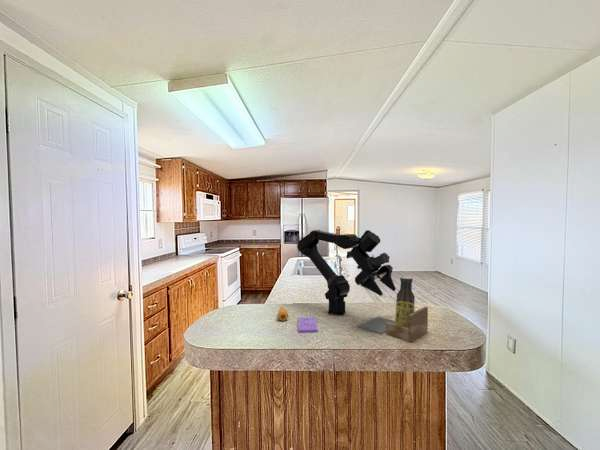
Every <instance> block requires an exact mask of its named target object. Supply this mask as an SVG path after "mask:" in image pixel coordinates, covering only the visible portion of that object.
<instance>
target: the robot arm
mask: <svg viewBox="0 0 600 450" xmlns="http://www.w3.org/2000/svg"><path fill="white" fill-rule="evenodd" d="M320 241H321V242H327V243H331V244H335V245H336V246H337V247H339V248H341V249H343V250H348V249H349V251H346V257H345V258H346V259H351V258H352V259H353V261H354V262H355V263H356V264H357V266H356V268H357V269H358V270H361V271H360V272H359V273H358V274H357V275H356V276H355V278H354V282H355V284H356V285H357V286H360V287H363V288H365V289H367V290H369V291H371V292H373V293H375V294H377V295H378V296H380V297H381V296H383V295H384V294H383V291H382V289H381V287H379V285H378V284H377V282H376V280H375V279H376V278H375V277H377V279H379V281H380V282H381V283H382V284H383V285H385V286H386V287H387V288H389V289H390V290H391V291H392V292H395V291H396V286H395V283H394V281H393V278H392V273H393V269H394V268H393V267H392V265H391V264H389V263H390V257H391V256H390V255H388V254H387V253H386V252H382V253H380V254H379V255H378V256H376V257H374V256H370V255H369V254H368V253H371V252H373V250H374V249H376V247H377V246H378V245H379V244H380V243H381V239H380V236H379V235H377V234H376V233H375V232H372V231H371V229H369V230H368V229H366V230H365V231H364V232H363V234H362V235H361V236H360V237H358V236H357V235H356V234H355V233H351V234H348V233H346V234H339V233H333V232H328V231H325V230H324V231H323V230H320V229H317V230H316V229H315V230H314V229H313V230H311V231H310V232H309V233H308V234H307V235H305V236H303V237H302V238H301V239H300V240H298V242H297V245H296V246H297V247H296V248H297V250H298V251H299V252H300V253H301V254H302V255H303V256H305V257H308V258H309V259H310V261H311V262H312V263H313V265H314V266H315V267H316V269H317V270H318V271H319V273H320V274H321V275H322V277H323V278H324V279H325V281H326V283H327V285H326V286H327V289H328V290H327V291H326V292H325V293H324V297H325V299H326V300H328V312H327V314H328V315H340V316H344V313H346V300H345V298H347V297H348V294H349V293H350V291H351V290H350V289H351V286H350V283H349V280H347V279H346V278H345V276H344V275H343V274H341V275H340V274H339V275H338V274H336V272H335V271H334V270H333V269H332V267H331V266H330V265H329V263H328V262H327V261H326V259H324V258H323V256H322V255H321V254H320V253H319V250H318V249H319V247H318V244H319V243H320ZM350 249H351V250H350Z"/></svg>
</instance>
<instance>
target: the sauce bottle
mask: <svg viewBox="0 0 600 450" xmlns="http://www.w3.org/2000/svg"><path fill="white" fill-rule="evenodd" d="M399 280H400V287H399V290H398V292H397V293H396V302H395V318H394V321H395V324H396V325H399V326H403V327H407V328H408V323H409V314H411V313H413V312H415V297H416V296H415V294H414V293H413V291H412V289H413V287H412V285H413V277H411V276H405V275H404V276H400V279H399Z"/></svg>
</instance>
